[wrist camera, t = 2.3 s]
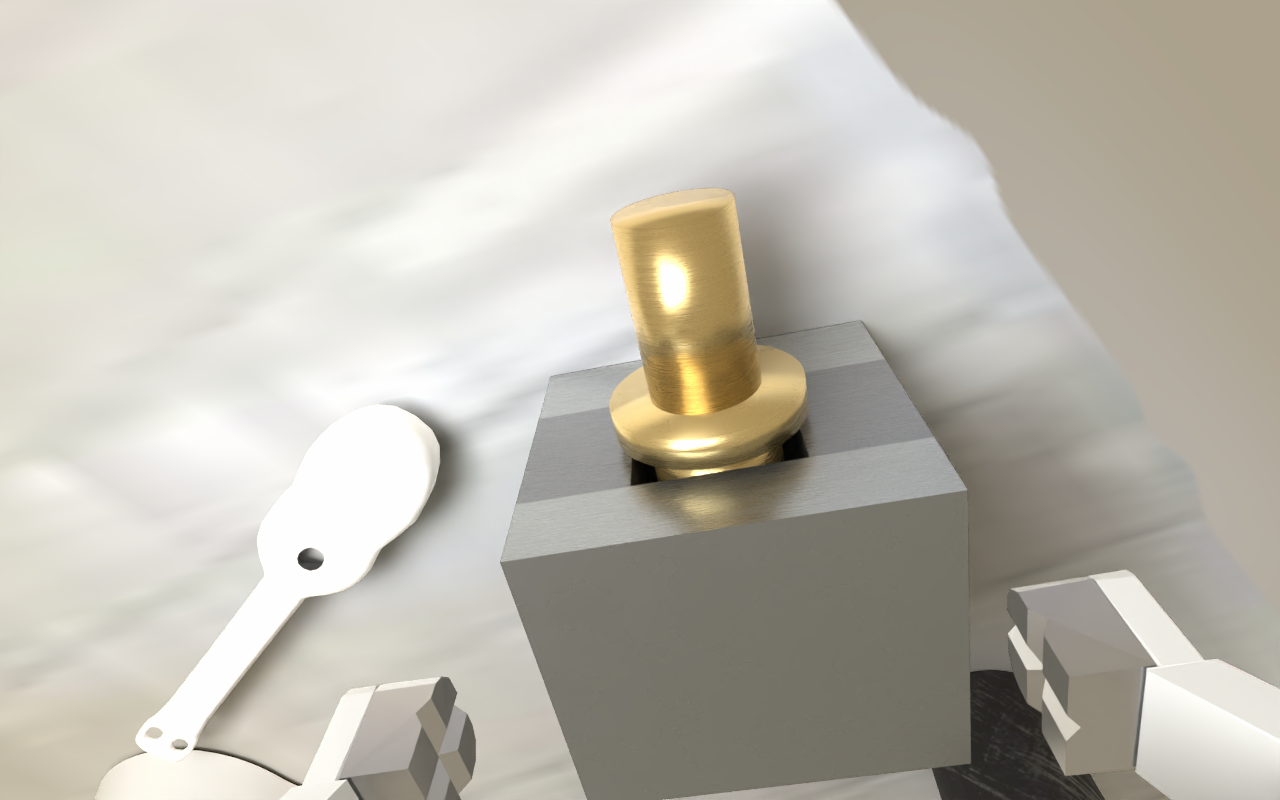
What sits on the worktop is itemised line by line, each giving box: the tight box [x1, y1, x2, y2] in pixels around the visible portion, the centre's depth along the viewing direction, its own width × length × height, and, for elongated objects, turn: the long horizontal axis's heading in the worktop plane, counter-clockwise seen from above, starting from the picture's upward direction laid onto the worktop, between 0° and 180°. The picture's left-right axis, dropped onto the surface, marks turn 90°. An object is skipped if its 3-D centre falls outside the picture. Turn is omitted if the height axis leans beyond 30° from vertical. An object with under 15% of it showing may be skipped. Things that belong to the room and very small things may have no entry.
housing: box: [500, 321, 971, 800], centre depth 31 cm, size 12×14×13 cm
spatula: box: [135, 404, 440, 762], centre depth 40 cm, size 28×6×3 cm, turn 141°
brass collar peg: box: [609, 188, 809, 482], centre depth 28 cm, size 15×7×7 cm, turn 12°
